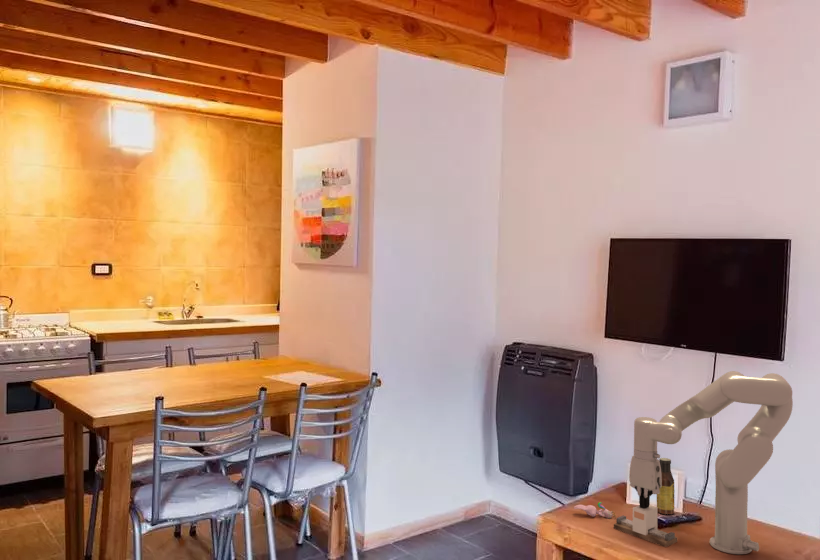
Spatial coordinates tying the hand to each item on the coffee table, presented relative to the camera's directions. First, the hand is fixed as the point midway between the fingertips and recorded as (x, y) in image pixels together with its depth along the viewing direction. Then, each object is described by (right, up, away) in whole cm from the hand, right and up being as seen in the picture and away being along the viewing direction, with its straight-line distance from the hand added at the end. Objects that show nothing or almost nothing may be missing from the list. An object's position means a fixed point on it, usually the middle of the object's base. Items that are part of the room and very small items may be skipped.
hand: (644, 507), depth 232 cm
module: (0, -8, 0) cm, 8 cm away
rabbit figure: (-12, -9, +17) cm, 23 cm away
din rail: (0, -8, 0) cm, 8 cm away
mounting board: (0, -10, 0) cm, 10 cm away
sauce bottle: (+15, -9, +21) cm, 27 cm away
